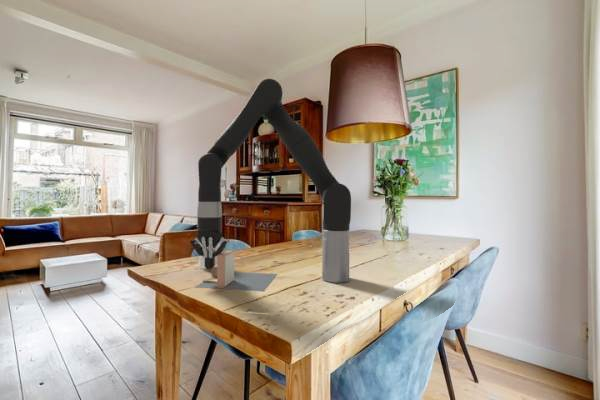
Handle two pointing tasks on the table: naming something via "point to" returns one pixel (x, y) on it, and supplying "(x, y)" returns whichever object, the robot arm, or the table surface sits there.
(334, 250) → the robot arm
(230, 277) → the tile
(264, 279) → the mat
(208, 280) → the beige pillar on base
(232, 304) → the table surface
